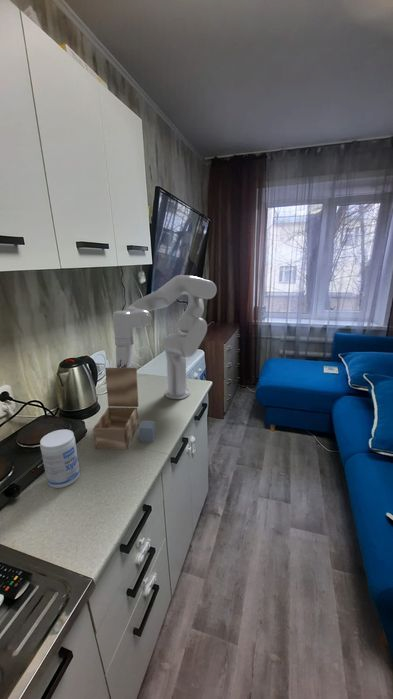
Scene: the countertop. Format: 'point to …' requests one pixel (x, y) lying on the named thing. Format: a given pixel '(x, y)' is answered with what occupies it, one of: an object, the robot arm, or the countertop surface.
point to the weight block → (147, 431)
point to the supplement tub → (60, 458)
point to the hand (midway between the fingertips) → (127, 381)
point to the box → (116, 428)
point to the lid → (122, 387)
